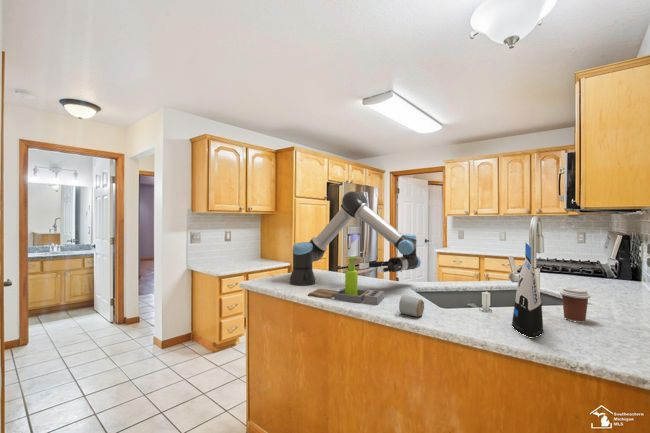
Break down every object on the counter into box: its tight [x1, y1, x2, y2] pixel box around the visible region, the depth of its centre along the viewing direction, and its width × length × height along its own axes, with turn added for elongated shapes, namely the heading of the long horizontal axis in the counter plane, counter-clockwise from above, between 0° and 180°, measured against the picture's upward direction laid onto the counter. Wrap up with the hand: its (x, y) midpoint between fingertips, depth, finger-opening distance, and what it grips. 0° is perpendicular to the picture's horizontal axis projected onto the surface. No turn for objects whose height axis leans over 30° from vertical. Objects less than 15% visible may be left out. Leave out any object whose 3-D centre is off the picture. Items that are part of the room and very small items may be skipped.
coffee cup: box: [559, 286, 591, 323], centre depth 118 cm, size 9×9×12 cm
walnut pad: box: [307, 288, 339, 300], centre depth 154 cm, size 12×12×1 cm
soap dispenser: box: [344, 256, 361, 296], centre depth 147 cm, size 6×7×20 cm
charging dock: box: [334, 287, 385, 306], centre depth 146 cm, size 13×20×4 cm, turn 64°
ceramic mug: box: [398, 294, 425, 318], centre depth 124 cm, size 11×8×8 cm
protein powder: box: [511, 242, 544, 338], centre depth 110 cm, size 10×24×30 cm, turn 150°
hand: (368, 268), depth 152 cm, fingers open, 13 cm apart
